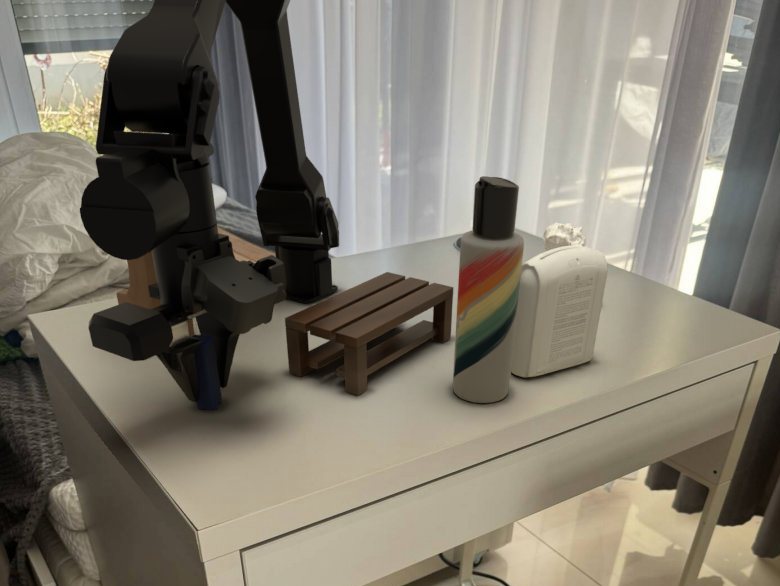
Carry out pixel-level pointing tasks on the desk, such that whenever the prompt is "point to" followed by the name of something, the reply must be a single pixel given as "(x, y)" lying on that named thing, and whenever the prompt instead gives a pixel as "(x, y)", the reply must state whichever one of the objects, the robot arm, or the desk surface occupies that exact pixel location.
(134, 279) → the wooden block
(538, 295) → the photo printer
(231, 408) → the desk surface
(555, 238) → the bust
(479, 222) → the lotion bottle
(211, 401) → the eraser
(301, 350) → the rack
